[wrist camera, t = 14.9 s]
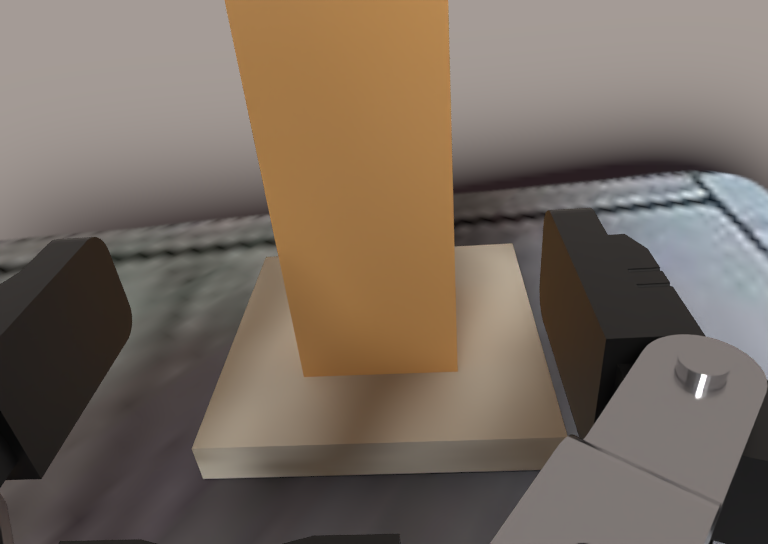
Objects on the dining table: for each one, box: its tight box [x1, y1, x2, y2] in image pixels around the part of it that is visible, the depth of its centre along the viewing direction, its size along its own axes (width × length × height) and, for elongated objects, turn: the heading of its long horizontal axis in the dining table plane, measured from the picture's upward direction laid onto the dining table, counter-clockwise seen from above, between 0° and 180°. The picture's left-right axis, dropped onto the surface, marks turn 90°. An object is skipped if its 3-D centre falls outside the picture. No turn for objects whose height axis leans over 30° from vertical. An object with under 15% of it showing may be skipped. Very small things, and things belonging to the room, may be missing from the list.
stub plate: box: [192, 243, 567, 479], centre depth 23 cm, size 12×12×6 cm
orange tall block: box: [225, 0, 458, 377], centre depth 20 cm, size 6×6×14 cm
